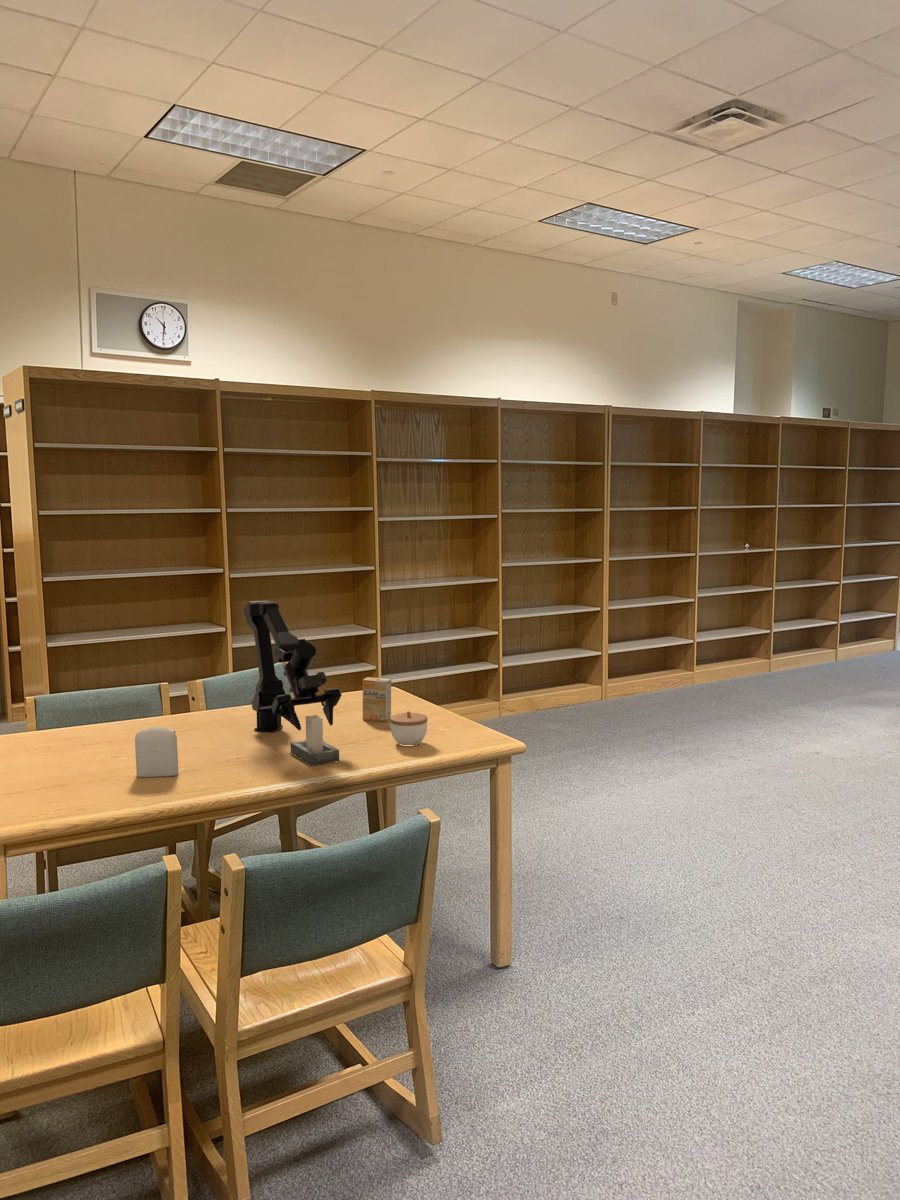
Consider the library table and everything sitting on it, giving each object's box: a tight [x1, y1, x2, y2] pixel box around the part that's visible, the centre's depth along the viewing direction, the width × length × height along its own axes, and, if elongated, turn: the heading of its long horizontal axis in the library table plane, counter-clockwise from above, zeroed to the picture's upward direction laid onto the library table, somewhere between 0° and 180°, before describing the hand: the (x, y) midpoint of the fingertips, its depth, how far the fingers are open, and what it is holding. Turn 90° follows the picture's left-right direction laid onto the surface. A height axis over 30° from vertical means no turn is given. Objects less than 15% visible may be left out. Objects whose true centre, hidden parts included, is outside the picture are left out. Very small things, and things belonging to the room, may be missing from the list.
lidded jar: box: [389, 711, 429, 745], centre depth 247 cm, size 11×11×9 cm
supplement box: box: [362, 676, 392, 722], centre depth 274 cm, size 8×5×13 cm, turn 73°
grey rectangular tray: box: [289, 739, 340, 767], centre depth 235 cm, size 14×8×3 cm, turn 33°
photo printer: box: [134, 726, 179, 778], centre depth 218 cm, size 10×4×12 cm, turn 96°
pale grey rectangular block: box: [305, 714, 324, 753], centre depth 234 cm, size 4×3×10 cm
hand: (316, 727), depth 233 cm, fingers open, 9 cm apart
